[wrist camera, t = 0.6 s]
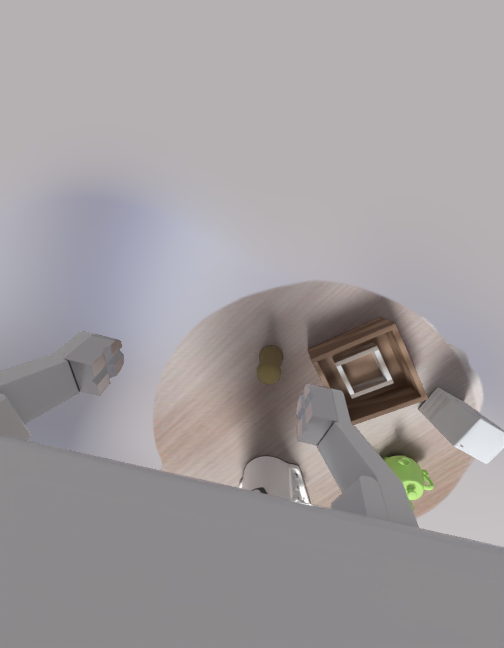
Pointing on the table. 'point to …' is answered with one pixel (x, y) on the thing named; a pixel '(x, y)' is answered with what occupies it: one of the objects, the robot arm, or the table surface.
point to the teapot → (409, 475)
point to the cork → (270, 364)
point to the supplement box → (463, 426)
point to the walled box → (369, 370)
